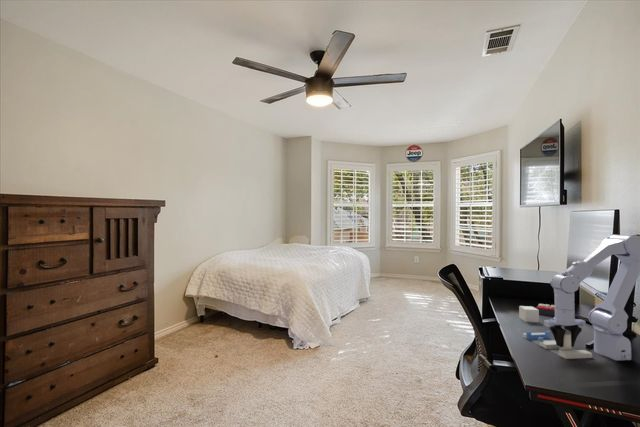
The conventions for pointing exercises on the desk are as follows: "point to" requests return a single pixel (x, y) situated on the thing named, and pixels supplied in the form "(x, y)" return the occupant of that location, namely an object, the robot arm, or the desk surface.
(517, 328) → the desk surface
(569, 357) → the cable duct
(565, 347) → the cream round-ended cylinder
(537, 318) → the cream white cube
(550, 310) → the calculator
